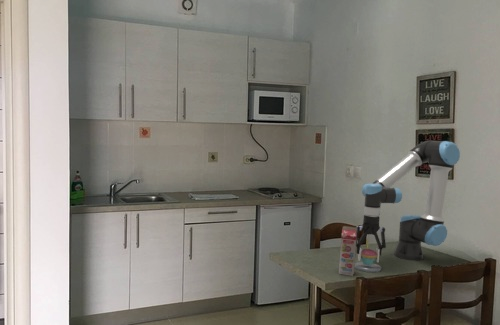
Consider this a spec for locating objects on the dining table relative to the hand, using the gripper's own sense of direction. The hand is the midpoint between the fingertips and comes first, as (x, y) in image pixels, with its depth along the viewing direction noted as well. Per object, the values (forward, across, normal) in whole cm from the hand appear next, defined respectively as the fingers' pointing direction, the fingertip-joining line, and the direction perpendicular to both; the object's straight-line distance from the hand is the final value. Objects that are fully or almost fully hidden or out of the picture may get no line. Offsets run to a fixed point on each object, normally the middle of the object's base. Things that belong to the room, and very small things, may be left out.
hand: (368, 260), depth 227 cm
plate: (+4, 0, 0) cm, 4 cm away
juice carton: (+4, +12, +10) cm, 16 cm away
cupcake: (+1, 0, 0) cm, 1 cm away
